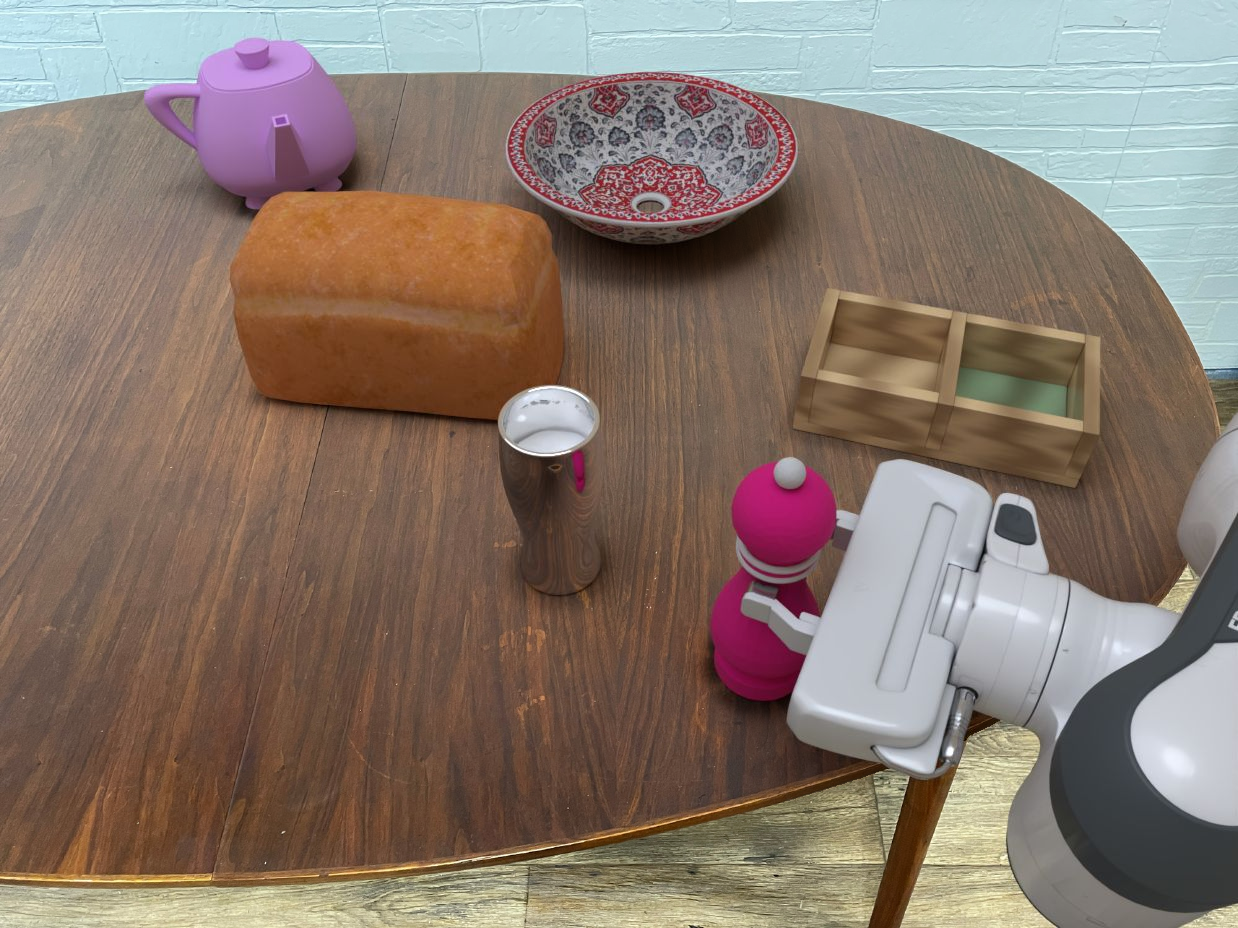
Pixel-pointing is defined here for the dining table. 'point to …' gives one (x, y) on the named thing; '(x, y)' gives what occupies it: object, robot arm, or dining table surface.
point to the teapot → (263, 120)
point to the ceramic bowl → (651, 154)
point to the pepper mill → (771, 574)
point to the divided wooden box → (952, 386)
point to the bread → (398, 302)
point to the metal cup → (554, 484)
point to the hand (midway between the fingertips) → (761, 558)
